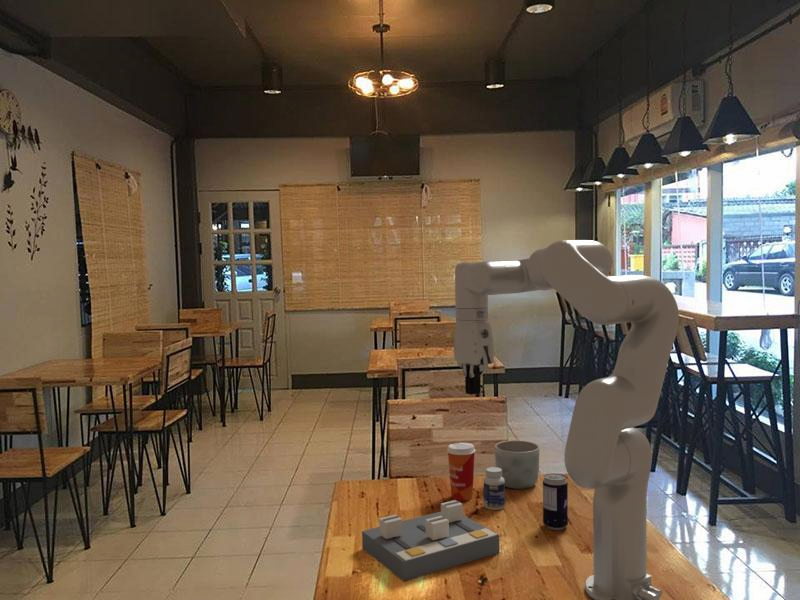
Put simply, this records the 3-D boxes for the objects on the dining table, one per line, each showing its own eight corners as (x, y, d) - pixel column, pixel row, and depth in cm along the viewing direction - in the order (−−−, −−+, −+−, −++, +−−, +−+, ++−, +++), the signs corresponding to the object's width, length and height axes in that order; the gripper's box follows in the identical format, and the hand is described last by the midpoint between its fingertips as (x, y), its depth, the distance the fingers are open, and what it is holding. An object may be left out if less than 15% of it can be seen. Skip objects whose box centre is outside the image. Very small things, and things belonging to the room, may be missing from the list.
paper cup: (442, 495, 182) (441, 444, 181) (467, 490, 185) (466, 440, 184) (456, 504, 174) (455, 451, 174) (482, 499, 178) (481, 447, 177)
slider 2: (449, 536, 144) (448, 519, 144) (433, 540, 142) (433, 523, 142) (441, 531, 147) (440, 514, 146) (425, 535, 145) (425, 518, 144)
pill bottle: (488, 511, 169) (488, 473, 169) (480, 504, 174) (480, 467, 174) (508, 509, 171) (508, 471, 170) (499, 502, 176) (499, 465, 175)
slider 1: (402, 534, 145) (402, 518, 145) (386, 539, 143) (385, 522, 143) (395, 530, 148) (395, 513, 148) (379, 534, 146) (379, 517, 146)
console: (499, 552, 145) (499, 532, 145) (403, 581, 133) (403, 559, 133) (451, 525, 161) (451, 506, 161) (362, 548, 149) (362, 528, 149)
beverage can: (568, 532, 156) (568, 481, 155) (543, 530, 157) (542, 480, 156) (567, 522, 161) (566, 473, 160) (543, 521, 162) (542, 472, 162)
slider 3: (462, 519, 153) (462, 503, 153) (448, 522, 151) (448, 506, 151) (455, 514, 156) (455, 499, 156) (440, 518, 154) (440, 502, 154)
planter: (492, 490, 185) (492, 451, 184) (497, 476, 197) (496, 439, 196) (538, 493, 182) (538, 453, 181) (540, 478, 194) (540, 441, 193)
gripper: (505, 316, 152) (506, 396, 153) (465, 312, 165) (467, 386, 166) (478, 318, 148) (479, 400, 149) (440, 314, 161) (441, 390, 162)
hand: (472, 393), depth 158 cm, fingers closed
